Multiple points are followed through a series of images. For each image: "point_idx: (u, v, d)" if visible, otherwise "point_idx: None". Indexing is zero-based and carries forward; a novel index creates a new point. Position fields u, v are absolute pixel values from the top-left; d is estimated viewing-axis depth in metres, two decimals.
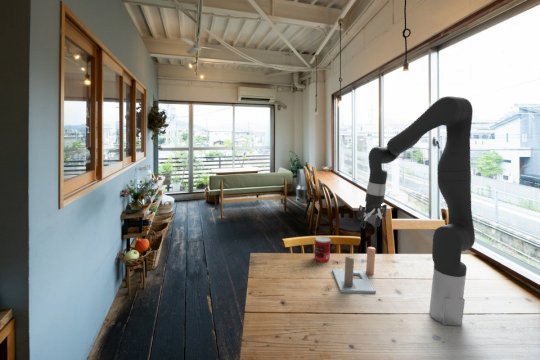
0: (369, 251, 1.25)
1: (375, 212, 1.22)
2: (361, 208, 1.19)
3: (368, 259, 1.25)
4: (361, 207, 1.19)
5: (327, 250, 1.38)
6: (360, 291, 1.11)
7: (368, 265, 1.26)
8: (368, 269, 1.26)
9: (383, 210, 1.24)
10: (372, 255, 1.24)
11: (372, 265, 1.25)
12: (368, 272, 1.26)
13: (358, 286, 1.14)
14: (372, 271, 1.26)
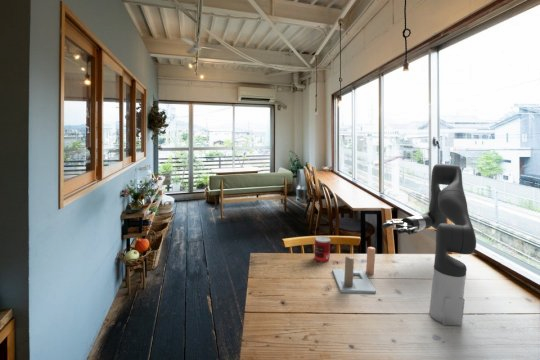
0: (369, 251, 1.25)
1: (402, 224, 1.31)
2: None
3: (368, 259, 1.25)
4: None
5: (327, 250, 1.38)
6: (360, 291, 1.11)
7: (368, 265, 1.26)
8: (368, 269, 1.26)
9: None
10: (372, 255, 1.24)
11: (372, 265, 1.25)
12: (368, 272, 1.26)
13: (358, 286, 1.14)
14: (372, 271, 1.26)
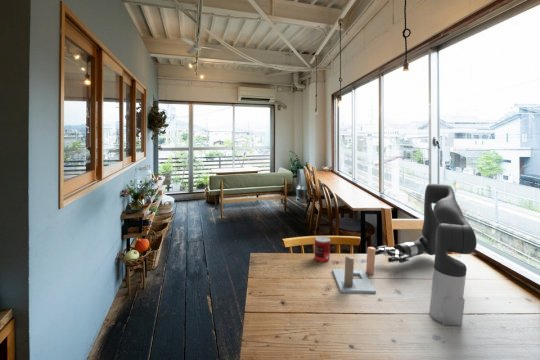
0: (369, 251, 1.25)
1: (393, 252, 1.31)
2: None
3: (368, 259, 1.25)
4: None
5: (327, 250, 1.38)
6: (360, 291, 1.11)
7: (368, 265, 1.26)
8: (368, 269, 1.26)
9: None
10: (372, 255, 1.24)
11: (372, 265, 1.25)
12: (368, 272, 1.26)
13: (358, 286, 1.14)
14: (372, 271, 1.26)
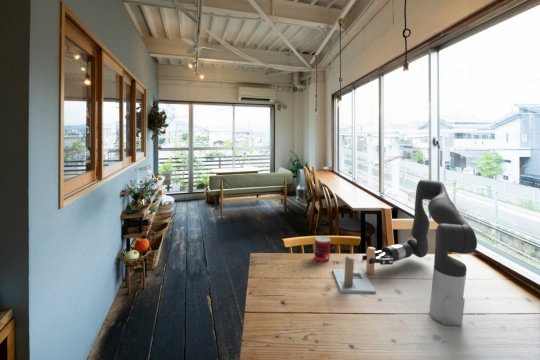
0: (369, 251, 1.25)
1: (380, 254, 1.29)
2: None
3: (368, 259, 1.25)
4: None
5: (327, 250, 1.38)
6: (360, 291, 1.11)
7: (368, 265, 1.26)
8: (368, 269, 1.26)
9: None
10: (372, 255, 1.24)
11: (372, 265, 1.25)
12: (368, 272, 1.26)
13: (358, 286, 1.14)
14: (372, 271, 1.26)
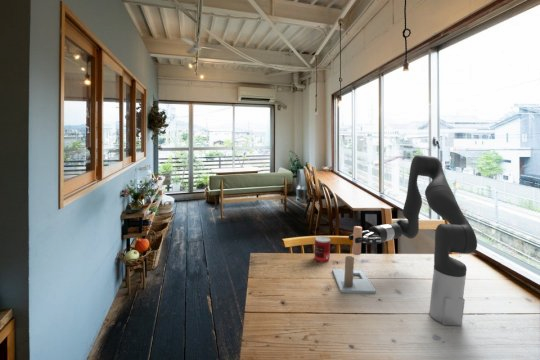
0: (355, 230, 1.18)
1: (367, 234, 1.22)
2: None
3: (354, 238, 1.19)
4: None
5: (327, 250, 1.38)
6: (360, 291, 1.11)
7: (354, 245, 1.19)
8: (354, 249, 1.20)
9: None
10: (358, 234, 1.18)
11: (359, 245, 1.19)
12: (354, 252, 1.20)
13: (358, 286, 1.14)
14: (359, 251, 1.19)
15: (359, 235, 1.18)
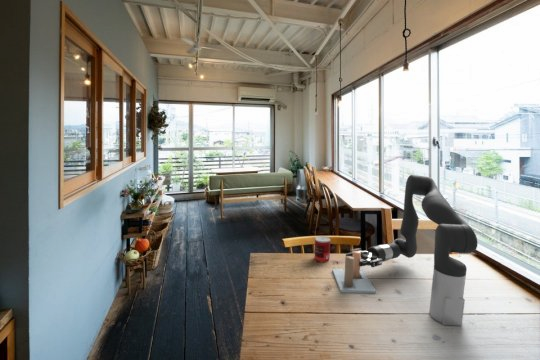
0: (354, 255, 1.20)
1: (366, 255, 1.23)
2: None
3: None
4: None
5: (327, 250, 1.38)
6: (360, 291, 1.11)
7: (353, 270, 1.21)
8: (353, 274, 1.21)
9: None
10: (357, 259, 1.20)
11: (357, 270, 1.21)
12: (353, 277, 1.22)
13: (358, 286, 1.14)
14: (357, 276, 1.21)
15: (358, 260, 1.20)
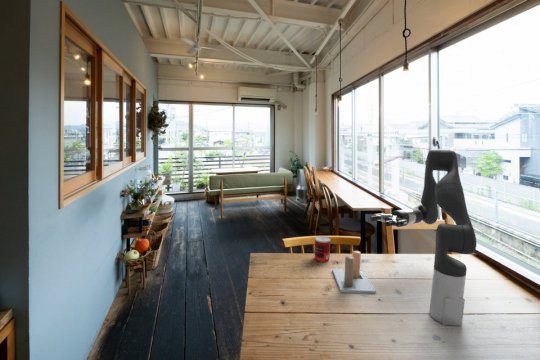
0: (354, 255, 1.20)
1: (391, 217, 1.26)
2: None
3: None
4: None
5: (327, 250, 1.38)
6: (360, 291, 1.11)
7: (353, 270, 1.21)
8: (353, 274, 1.21)
9: None
10: (357, 259, 1.20)
11: (357, 270, 1.21)
12: (353, 277, 1.22)
13: (358, 286, 1.14)
14: (357, 276, 1.21)
15: (358, 260, 1.20)
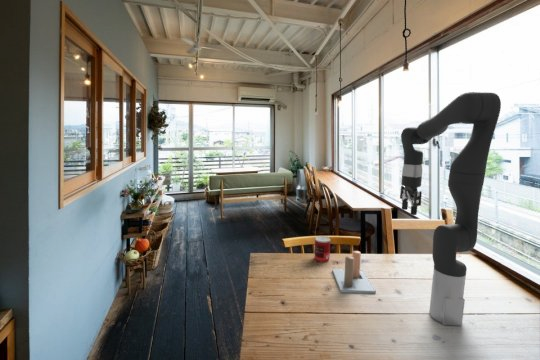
0: (354, 255, 1.20)
1: (408, 196, 1.18)
2: None
3: None
4: None
5: (327, 250, 1.38)
6: (360, 291, 1.11)
7: (353, 270, 1.21)
8: (353, 274, 1.21)
9: None
10: (357, 259, 1.20)
11: (357, 270, 1.21)
12: (353, 277, 1.22)
13: (358, 286, 1.14)
14: (357, 276, 1.21)
15: (358, 260, 1.20)
